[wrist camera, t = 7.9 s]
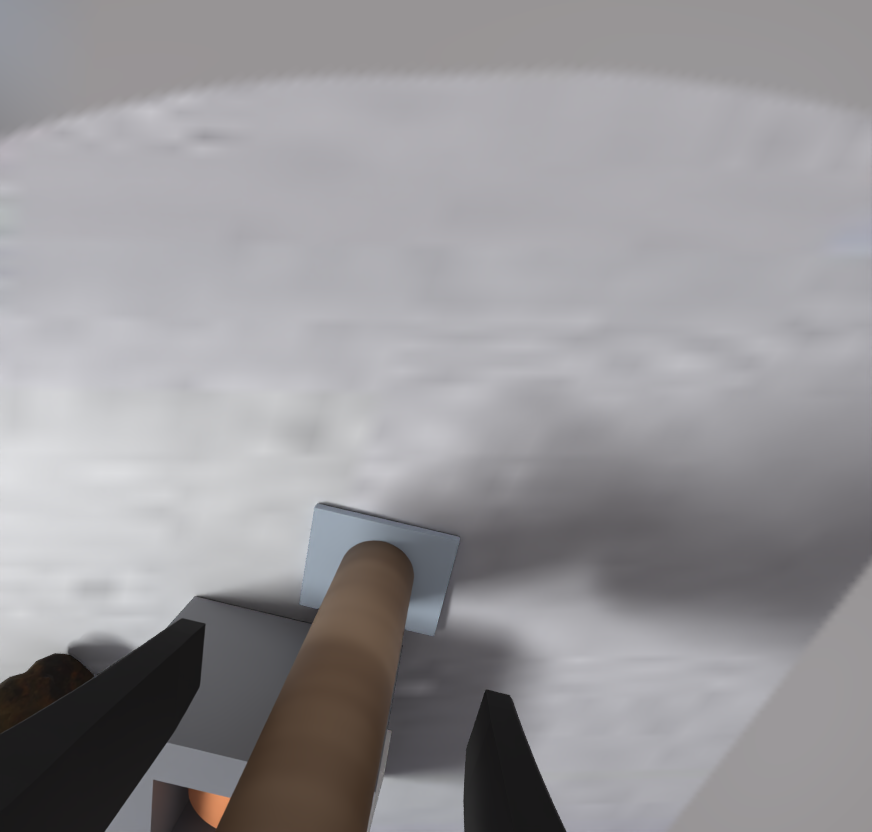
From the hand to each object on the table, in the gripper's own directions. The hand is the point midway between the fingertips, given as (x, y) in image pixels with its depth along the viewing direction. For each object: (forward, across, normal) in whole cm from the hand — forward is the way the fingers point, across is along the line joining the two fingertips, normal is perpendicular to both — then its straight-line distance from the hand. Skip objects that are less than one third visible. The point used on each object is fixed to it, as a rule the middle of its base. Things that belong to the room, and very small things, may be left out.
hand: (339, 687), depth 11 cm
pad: (+5, 0, 0) cm, 5 cm away
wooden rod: (+4, 0, 0) cm, 5 cm away
